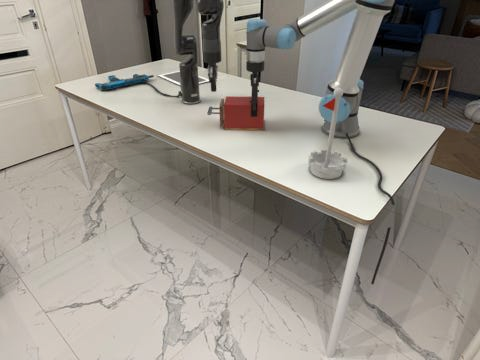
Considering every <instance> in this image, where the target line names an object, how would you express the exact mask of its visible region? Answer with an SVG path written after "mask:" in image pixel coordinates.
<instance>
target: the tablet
mask: <svg viewBox="0 0 480 360" xmlns="http://www.w3.org/2000/svg"><path fill="white" fill-rule="evenodd" d="M157 77H159V78H161V79H164V80H166V81H168V82H170V83H173V84H175V85H177V86H179V87H181V86H180V83H181V78H180V70H176V71H172V72H167V73H163V74H158V75H157ZM198 78H199V85H201V84H205V83H210V82H209V78H207V77H204V76H201V75H199V74H198Z"/></svg>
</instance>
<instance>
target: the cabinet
mask: <svg viewBox="0 0 480 360" xmlns="http://www.w3.org/2000/svg"><path fill="white" fill-rule="evenodd" d="M251 99H252V96H233V95H232V96H225V98H224V123H223V124H224V130H235V131H236V130H237V131H264V127H265V96H258V97H257V101H258V104H257V117H251V103H250V101H251ZM253 100H256V99H253Z"/></svg>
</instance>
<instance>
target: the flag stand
mask: <svg viewBox="0 0 480 360" xmlns="http://www.w3.org/2000/svg"><path fill="white" fill-rule="evenodd" d="M342 95H343V90H342V89H341V88H336V89H335V90H334V96H335V98H334V99H332V100H331V101H329V102H328V103H326V104H325V105H323V107H326V108H328V109H330V110H332V111H333V114H332V121H331V127H330V134H328V141H327V147H326V148H321V149H320V151H317V150H315V149H314V150H312V151H311V152H310V155H308V162H307V163H308V165H309V166H310V167H309V169H310V173H311V174H313V176H315V177H318V178H321V179H325V180H332V179H337V178H339V177H341V176H342V174H343V171H344V170H345V169H346V168H347V164H348V158H347V156H346V155H342V152H340V151H338V150H334V151H332V149H333V143H334V132H335V126H336V120H337V113H338V107H339V101H340V97H341V96H342Z"/></svg>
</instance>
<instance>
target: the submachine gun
mask: <svg viewBox="0 0 480 360" xmlns="http://www.w3.org/2000/svg"><path fill="white" fill-rule="evenodd" d="M107 77H108V80H109V82H103V83H100V82H96V83H94V86H95V88H97V89H98V90H100V91H107V90H113V91H114V90H115V89H116V88H120V87H125V86H129V85H134V84H138V83H139V84H140V82H146V83H147V81H148V80H150V79H151V78H154V77H155V76H154V74H151V75H147V74H138V73H134V74H133V75H132V77H129V78H121V79H120V78H118V77H117V76H116V75H113V74H112V75H108V76H107Z"/></svg>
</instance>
